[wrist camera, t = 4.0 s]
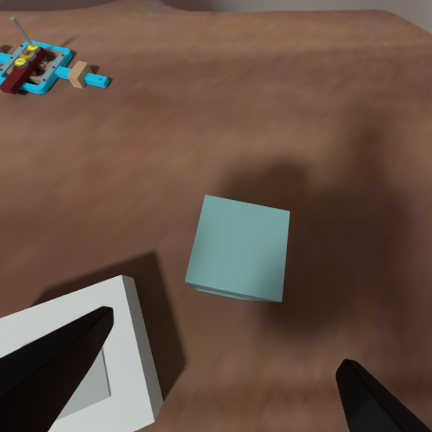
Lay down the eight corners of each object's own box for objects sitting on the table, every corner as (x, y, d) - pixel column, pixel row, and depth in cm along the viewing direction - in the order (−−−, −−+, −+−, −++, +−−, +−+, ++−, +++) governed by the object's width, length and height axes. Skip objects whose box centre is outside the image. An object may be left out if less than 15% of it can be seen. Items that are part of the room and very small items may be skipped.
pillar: (241, 299, 20) (281, 302, 9) (198, 290, 20) (184, 281, 9) (247, 256, 21) (289, 211, 10) (207, 248, 22) (205, 194, 10)
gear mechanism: (90, 119, 27) (121, 67, 30) (63, 78, 22) (103, 22, 25) (-54, 84, 28) (-10, 38, 32) (-111, 37, 23) (-52, -11, 27)
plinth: (163, 401, 17) (154, 422, 14) (27, 464, 16) (-13, 501, 13) (133, 277, 20) (120, 274, 18) (18, 320, 19) (-17, 324, 16)
